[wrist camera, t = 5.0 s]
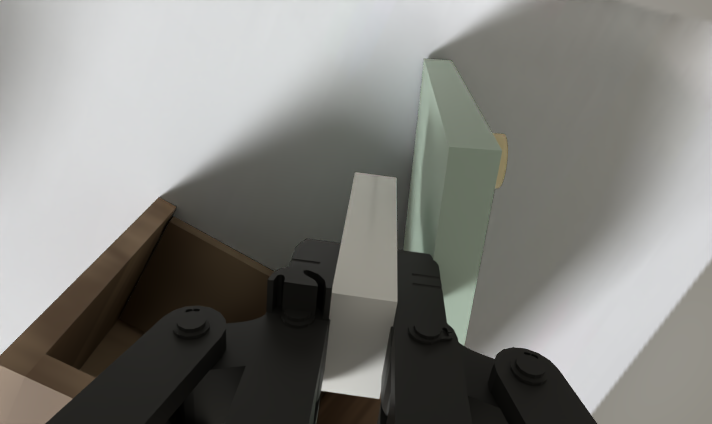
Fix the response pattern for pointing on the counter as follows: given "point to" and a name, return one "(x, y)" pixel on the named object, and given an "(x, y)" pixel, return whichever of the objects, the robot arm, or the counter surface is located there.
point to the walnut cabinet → (138, 316)
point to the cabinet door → (452, 186)
